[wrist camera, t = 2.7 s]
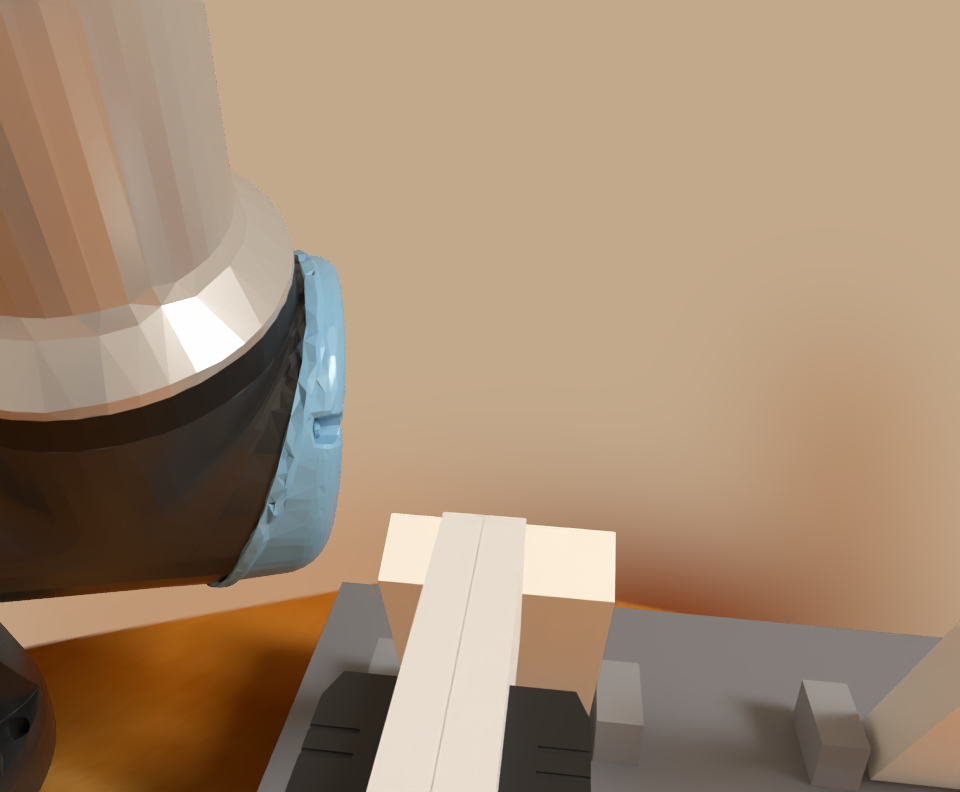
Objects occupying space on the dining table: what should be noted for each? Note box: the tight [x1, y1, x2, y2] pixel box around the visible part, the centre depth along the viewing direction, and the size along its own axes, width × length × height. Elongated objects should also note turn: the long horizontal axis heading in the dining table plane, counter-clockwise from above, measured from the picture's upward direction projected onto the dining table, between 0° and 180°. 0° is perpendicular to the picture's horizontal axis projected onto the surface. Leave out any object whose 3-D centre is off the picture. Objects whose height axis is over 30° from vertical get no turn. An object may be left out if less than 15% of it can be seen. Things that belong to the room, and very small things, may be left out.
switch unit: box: [257, 582, 960, 792], centre depth 32 cm, size 14×32×8 cm, turn 83°
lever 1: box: [378, 513, 616, 716], centre depth 26 cm, size 2×6×12 cm, turn 84°
